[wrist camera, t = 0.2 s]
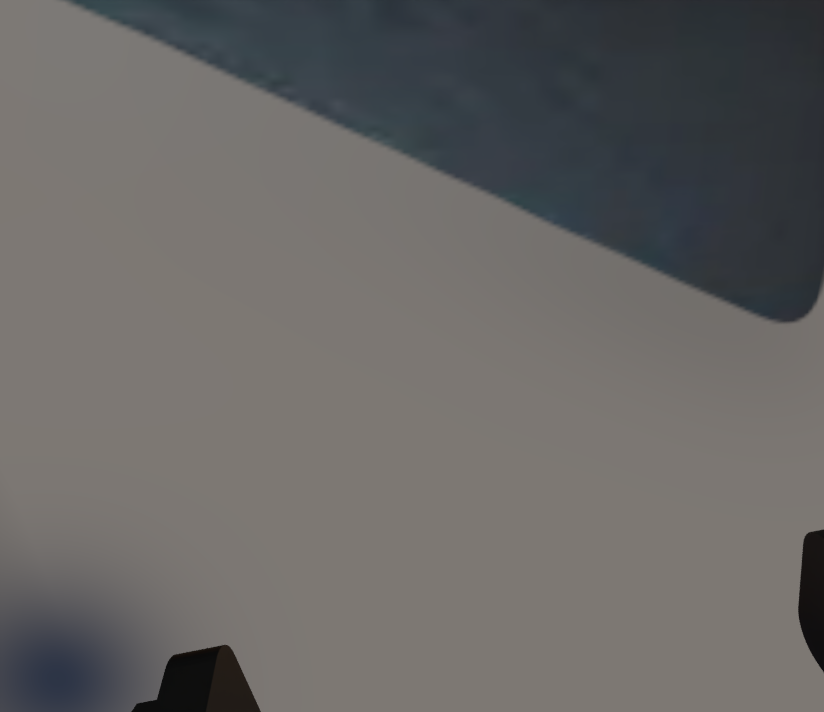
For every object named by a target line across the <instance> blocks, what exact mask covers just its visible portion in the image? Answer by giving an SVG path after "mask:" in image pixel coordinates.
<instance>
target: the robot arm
mask: <svg viewBox="0 0 824 712" xmlns="http://www.w3.org/2000/svg"><path fill="white" fill-rule="evenodd" d="M798 612H799V620H800V625H801V629H802V632H803V635H804V638H805V640H806V643H807V645H808V647H809V649H810V651H811V653H812V655H813V656H814V658H815V660H816V661H817V663H818V664H819V666H820V667H821V669H822V670H823V672H824V530H820V531H814V532H809V533H808V534H807V535H806V536H805V538H804V543H803V554H802V569H801V580H800V593H799V606H798ZM132 712H261V711H260V709H259V707H258V705H257V702H256V700H255V698H254V696H253V694H252V692H251V689H250V687H249V685H248V683H247V681H246V679H245V677H244V674H243V672H242V670H241V668H240V665H239V663H238V661H237V659H236V657H235V655H234V653H233V651H232V649H231V648H230V647H229V646H228V645H222V646H217V647H212V648H207V649H202V650H196V651H191V652H186V653H181V654H176V655H173V656H172V657H171V658H170V659H169V661H168V663H167V666H166V669H165V672H164V676H163V679H162V683H161V687H160V691H159V694H158V698H157V700H154V701H148V702H143V703H138V704H137V705H136V706H135V707H134V709H133V710H132Z"/></svg>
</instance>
